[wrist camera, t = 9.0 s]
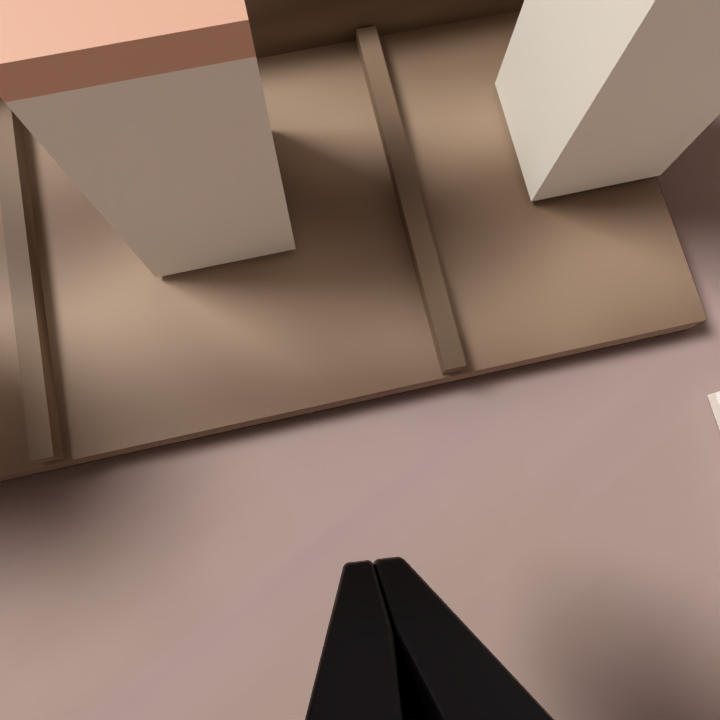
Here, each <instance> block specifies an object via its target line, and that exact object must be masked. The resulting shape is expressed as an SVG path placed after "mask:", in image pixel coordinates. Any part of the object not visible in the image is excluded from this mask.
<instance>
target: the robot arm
mask: <svg viewBox="0 0 720 720" xmlns="http://www.w3.org/2000/svg"><path fill="white" fill-rule="evenodd" d="M305 720H554V719H553V718H552V717H551V716H550V715H549V714H548V713H547V712H546V710H545V709H544V708H543V707H542V706H541V705H540V704H539V703H538V702H537V701H536V700H535V699H534V698H533V697H532V696H531V694H530V693H529V692H528V691H527V690H526V689H525V688H524V687H523V686H522V685H521V684H520V683H519V682H518V681H517V679H516V678H515V677H514V676H513V675H512V674H511V673H510V672H509V671H508V670H507V669H506V668H505V667H504V666H503V665H502V663H501V662H500V661H499V660H498V659H497V658H496V657H495V656H494V655H493V654H492V653H491V652H490V651H489V650H488V648H487V647H486V646H485V645H484V644H483V643H482V642H481V641H480V640H479V639H478V638H477V637H476V636H475V635H474V634H473V632H472V631H471V630H470V629H469V628H468V627H467V626H466V625H465V624H464V623H463V622H462V621H461V620H460V619H459V618H458V616H457V615H456V614H455V613H454V612H453V611H452V610H451V609H450V608H449V607H448V606H447V605H446V604H445V603H444V601H443V600H442V599H441V598H440V597H439V596H438V595H437V594H436V593H435V592H434V591H433V590H432V589H431V588H430V587H429V585H428V584H427V583H426V582H425V581H424V580H423V579H422V578H421V577H420V576H419V575H418V574H417V573H416V572H415V570H414V569H413V568H412V567H411V566H410V565H409V564H408V563H407V562H406V561H405V560H404V559H403V558H401V557H392V558H383V559H377V560H376V561H374V563H372V562H371V561H369V560H366V561H357V562H349V563H346V564H345V565H344V567H343V570H342V574H341V578H340V582H339V586H338V590H337V594H336V598H335V602H334V606H333V610H332V614H331V618H330V622H329V626H328V630H327V634H326V638H325V642H324V646H323V650H322V654H321V658H320V662H319V666H318V670H317V674H316V678H315V682H314V686H313V690H312V694H311V698H310V702H309V706H308V710H307V714H306V718H305Z"/></svg>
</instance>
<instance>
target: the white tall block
mask: <svg viewBox="0 0 720 720" xmlns="http://www.w3.org/2000/svg"><path fill="white" fill-rule="evenodd" d="M495 86H496V89H497V92H498V95H499V99H500V102H501V105H502V108H503V112H504V115H505V118H506V121H507V125H508V128H509V131H510V134H511V138H512V141H513V144H514V147H515V151H516V154H517V157H518V160H519V164H520V167H521V170H522V174H523V177H524V180H525V183H526V187H527V190H528V193H529V196H530V200H531V202H532V201H537V200H542V199H547V198H551V197H556V196H561V195H566V194H571V193H576V192H581V191H586V190H591V189H596V188H601V187H605V186H610V185H615V184H620V183H625V182H630V181H635V180H640V179H645V178H650V177H655V176H659V175H661V174H662V173H663V172H664V171H665V170H666V169H667V168H668V167H669V166H670V165H671V164H672V163H673V162H674V161H675V160H676V159H677V158H678V156H679V155H680V154H681V153H682V152H683V151H684V150H685V149H686V148H687V147H688V146H689V145H690V144H691V143H692V142H693V141H694V140H695V139H696V138H697V137H698V136H699V135H700V134H701V133H702V132H703V131H704V130H705V129H706V127H707V126H708V125H709V124H710V123H711V122H712V121H713V120H714V119H715V118H716V117H717V116H718V115H719V114H720V0H524V3H523V6H522V8H521V11H520V14H519V17H518V20H517V22H516V25H515V28H514V31H513V34H512V37H511V39H510V42H509V45H508V48H507V51H506V54H505V56H504V59H503V62H502V65H501V68H500V70H499V73H498V76H497V79H496V82H495Z"/></svg>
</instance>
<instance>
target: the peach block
mask: <svg viewBox="0 0 720 720" xmlns="http://www.w3.org/2000/svg"><path fill="white" fill-rule="evenodd" d="M0 98H1V99H2V100H3V101H4V102H5V103H6V105H7V106H8V107H9V108H10V109H11V110H12V111H13V113H14V114H15V115H16V116H17V117H18V118H19V120H20V121H21V122H22V123H23V124H24V125H25V127H26V128H27V129H28V130H29V131H30V132H31V134H32V135H33V136H34V137H35V138H36V139H37V140H38V142H39V143H40V144H41V145H42V146H43V147H44V149H45V150H46V151H47V152H48V153H49V154H50V156H51V157H52V158H53V159H54V160H55V161H56V162H57V164H58V165H59V166H60V167H61V168H62V169H63V171H64V172H65V173H66V174H67V175H68V176H69V178H70V179H71V180H72V181H73V182H74V183H75V184H76V186H77V187H78V188H79V189H80V190H81V191H82V193H83V194H84V195H85V196H86V197H87V198H88V200H89V201H90V202H91V203H92V204H93V205H94V206H95V208H96V209H97V210H98V211H99V212H100V213H101V215H102V216H103V217H104V218H105V219H106V220H107V222H108V223H109V224H110V225H111V226H112V227H113V228H114V230H115V231H116V232H117V233H118V234H119V235H120V237H121V238H122V239H123V240H124V241H125V242H126V244H127V245H128V246H129V247H130V248H131V249H132V251H133V252H134V253H135V254H136V255H137V256H138V257H139V259H140V260H141V261H142V262H143V263H144V264H145V266H146V267H147V268H148V269H149V270H150V271H151V273H152V274H153V275H154V276H155V277H161V276H166V275H171V274H176V273H181V272H186V271H191V270H196V269H201V268H206V267H210V266H215V265H220V264H225V263H230V262H235V261H240V260H245V259H250V258H255V257H260V256H264V255H269V254H274V253H279V252H284V251H289V250H294V249H296V248H295V243H294V238H293V233H292V228H291V223H290V218H289V214H288V209H287V204H286V199H285V194H284V189H283V184H282V180H281V175H280V170H279V165H278V160H277V155H276V150H275V146H274V141H273V136H272V131H271V126H270V121H269V116H268V112H267V107H266V102H265V97H264V92H263V87H262V83H261V78H260V73H259V68H258V63H257V58H256V53H255V49H254V44H253V39H252V34H251V29H250V24H249V19H248V15H247V10H246V6H245V1H244V0H0Z"/></svg>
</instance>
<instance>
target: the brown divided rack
mask: <svg viewBox="0 0 720 720" xmlns="http://www.w3.org/2000/svg"><path fill="white" fill-rule="evenodd" d="M244 1H245V6H246V10H247V15H248V19H249V24H250V29H251V34H252V39H253V44H254V49H255V53H256V58H257V63H258V68H259V73H260V78H261V83H262V87H263V92H264V97H265V102H266V107H267V112H268V116H269V121H270V126H271V131H272V136H273V141H274V146H275V150H276V155H277V160H278V165H279V170H280V175H281V180H282V184H283V189H284V194H285V199H286V204H287V209H288V214H289V218H290V223H291V228H292V233H293V238H294V243H295V248H296V249H294V250H289V251H284V252H279V253H274V254H269V255H264V256H260V257H255V258H250V259H245V260H240V261H235V262H230V263H225V264H220V265H215V266H210V267H206V268H201V269H196V270H191V271H186V272H181V273H176V274H171V275H166V276H161V277H155V276H154V275H153V274H152V273H151V271H150V270H149V269H148V268H147V267H146V266H145V264H144V263H143V262H142V261H141V260H140V259H139V257H138V256H137V255H136V254H135V253H134V252H133V251H132V249H131V248H130V247H129V246H128V245H127V244H126V242H125V241H124V240H123V239H122V238H121V237H120V235H119V234H118V233H117V232H116V231H115V230H114V228H113V227H112V226H111V225H110V224H109V223H108V222H107V220H106V219H105V218H104V217H103V216H102V215H101V213H100V212H99V211H98V210H97V209H96V208H95V206H94V205H93V204H92V203H91V202H90V201H89V200H88V198H87V197H86V196H85V195H84V194H83V193H82V191H81V190H80V189H79V188H78V187H77V186H76V184H75V183H74V182H73V181H72V180H71V179H70V178H69V176H68V175H67V174H66V173H65V172H64V171H63V169H62V168H61V167H60V166H59V165H58V164H57V162H56V161H55V160H54V159H53V158H52V157H51V156H50V154H49V153H48V152H47V151H46V150H45V149H44V147H43V146H42V145H41V144H40V143H39V142H38V140H37V139H36V138H35V137H34V136H33V135H32V134H31V132H30V131H29V130H28V129H27V128H26V127H25V125H24V124H23V123H22V122H21V121H20V120H19V118H18V117H17V116H16V115H15V114H14V113H13V111H12V110H11V109H10V108H9V107H8V106H7V105H6V103H5V102H4V101H3V100H2V99H1V98H0V481H4V480H8V479H13V478H17V477H22V476H26V475H31V474H36V473H40V472H45V471H49V470H54V469H58V468H63V467H67V466H72V465H76V464H81V463H85V462H90V461H94V460H99V459H103V458H108V457H112V456H117V455H121V454H126V453H130V452H135V451H139V450H144V449H148V448H153V447H157V446H162V445H166V444H171V443H176V442H180V441H185V440H189V439H194V438H198V437H203V436H207V435H212V434H216V433H221V432H225V431H230V430H234V429H239V428H243V427H248V426H252V425H257V424H261V423H266V422H270V421H275V420H279V419H284V418H288V417H293V416H297V415H302V414H306V413H311V412H316V411H320V410H325V409H329V408H334V407H338V406H343V405H347V404H352V403H356V402H361V401H365V400H370V399H374V398H379V397H383V396H388V395H392V394H397V393H401V392H406V391H410V390H415V389H419V388H424V387H428V386H433V385H437V384H442V383H446V382H451V381H456V380H460V379H465V378H469V377H474V376H478V375H483V374H487V373H492V372H496V371H501V370H505V369H510V368H514V367H519V366H523V365H528V364H532V363H537V362H541V361H546V360H550V359H555V358H559V357H564V356H568V355H573V354H577V353H582V352H586V351H591V350H595V349H600V348H605V347H609V346H614V345H618V344H623V343H627V342H632V341H636V340H641V339H645V338H650V337H654V336H659V335H663V334H668V333H672V332H677V331H681V330H686V329H689V328H691V327H693V326H695V325H697V324H699V323H701V322H703V321H705V320H707V317H706V315H705V312H704V309H703V306H702V303H701V300H700V298H699V295H698V292H697V289H696V286H695V284H694V281H693V278H692V275H691V272H690V270H689V267H688V264H687V261H686V258H685V256H684V253H683V250H682V247H681V244H680V241H679V239H678V236H677V233H676V230H675V227H674V225H673V222H672V219H671V216H670V213H669V211H668V208H667V205H666V202H665V199H664V197H663V194H662V191H661V188H660V185H659V182H658V180H657V177H656V176H655V177H650V178H645V179H640V180H635V181H630V182H625V183H620V184H615V185H610V186H605V187H601V188H596V189H591V190H586V191H581V192H576V193H571V194H566V195H561V196H556V197H551V198H547V199H542V200H537V201H532V202H531V200H530V196H529V193H528V190H527V187H526V183H525V180H524V177H523V174H522V170H521V167H520V164H519V160H518V157H517V154H516V151H515V147H514V144H513V141H512V138H511V134H510V131H509V128H508V125H507V121H506V118H505V115H504V112H503V108H502V105H501V102H500V99H499V95H498V92H497V89H496V86H495V82H496V79H497V76H498V73H499V70H500V68H501V65H502V62H503V59H504V56H505V54H506V51H507V48H508V45H509V42H510V39H511V37H512V34H513V31H514V28H515V25H516V22H517V20H518V17H519V14H520V11H521V8H522V6H523V3H524V0H244Z"/></svg>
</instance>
